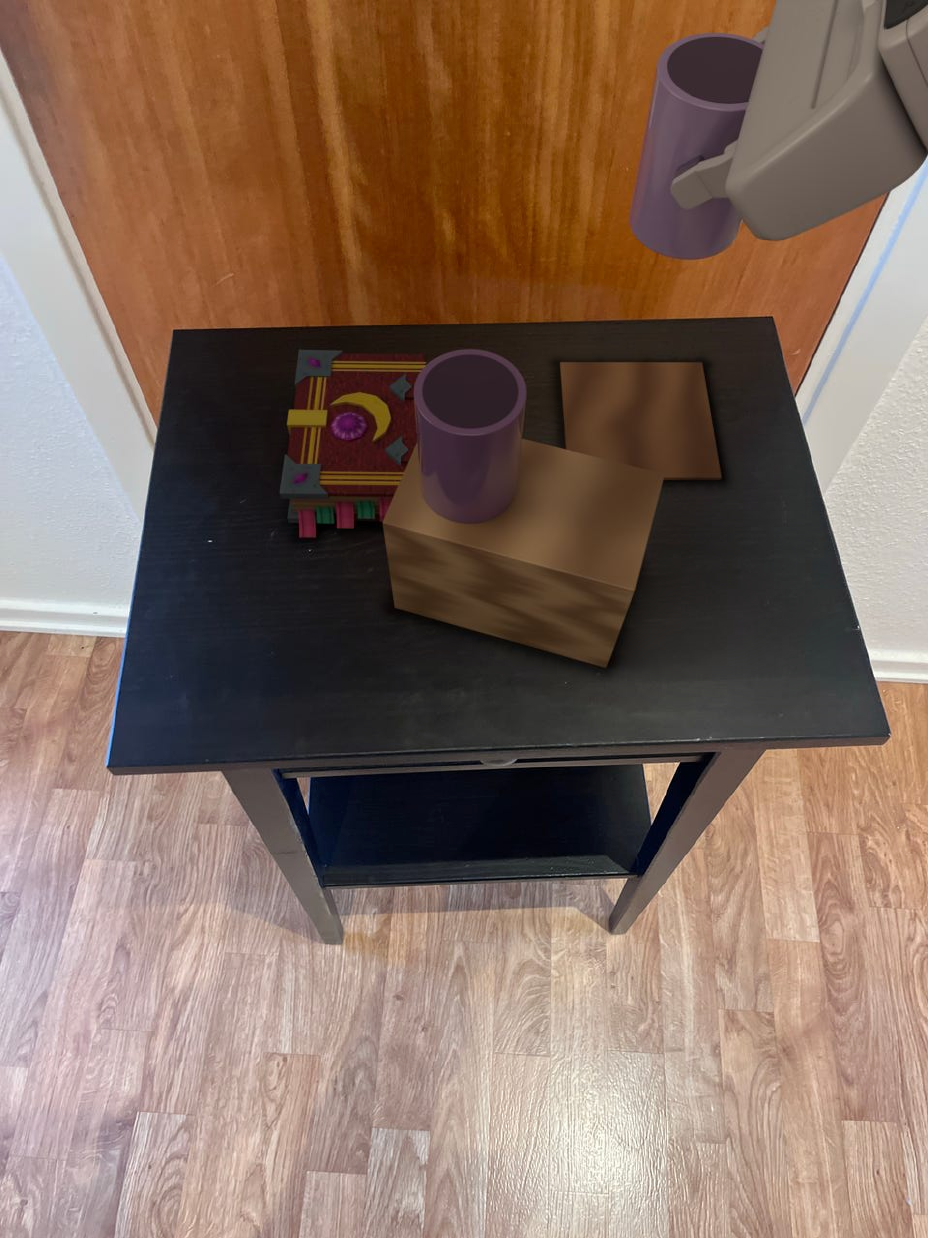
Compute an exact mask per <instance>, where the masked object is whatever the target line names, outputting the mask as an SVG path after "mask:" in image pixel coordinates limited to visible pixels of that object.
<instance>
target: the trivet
mask: <svg viewBox="0 0 928 1238" xmlns="http://www.w3.org/2000/svg"><path fill="white" fill-rule="evenodd" d="M559 372H560V373H559V374H560V387H561V400H562V401H561V402H562V415H563V428H564V443H565V444H564V445H565V449H566V450H570V451H574V452H578V453H582V454H585V455H589V456H593V457H597V458H601V459H605V460H609V461H613V462H617V463H621V464H625V465H629V466H633V467H637V468H641V469H645V470H649V471H653V472H657V473H661V474H664V475H665V476H664V480H663V481H721V480H722V471H721V466H720V464H721V463H720V460H719V454H718V448H717V441H716V436H715V430H714V423H713V419H712V418H713V417H712V413H711V407H710V401H709V395H708V389H707V383H706V378H705V371H704V365H703V362H702V361H700V362H699V361H692V362H691V361H690V362H689V361H683V362H681V361H679V362H678V361H654V362H653V361H648V362H647V361H560V362H559Z"/></svg>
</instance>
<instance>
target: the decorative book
mask: <svg viewBox="0 0 928 1238" xmlns="http://www.w3.org/2000/svg"><path fill="white" fill-rule="evenodd" d="M427 358H428V357H427V353H357V352H356V353H352V352H351V353H350V352H349V353H348V352H347V353H345V352H343V350H331V349H330V350H327V349H325V350H323V349H298V355H297V362H296V368H295V369H296V370H295V376H294V377H295V378H294V389H295V395H294V404H293V409H288V415H287V421H286V426H287V430H288V434H289V441H288V448H287V454H286V453H285V454H284V459H283V460H284V461H283V465H282V466H283V467H282V474H281V481H280V487H279V497H280V499H281V500H289V504H288V509H287V511H288V512H287V521H288V523H289V524H298V528H299V529H298V532H299V533H298V535H299V538H317V528H316V527H317V526H316V525H317V524H331V525H332V524H333V525H334V524H335V522H336V528H337V529H354V528H355V527H354V526H355V522H382V523H383V520H384V518H385V516H386V513H387V511H388V509H389V506H390V504H391V502H392V499H393V497H394V495H395V492H396V490H397V488H398V485H399V483H400V481H401V479H402V476H403V474H404V472H405V469H406V467H407V465H408V462H409V460H410V458H411V455H412V453H413V451H414V448H415V446H416V444H417V433H416V419H415V404H414V385H415V382H416V379H417V377H418V375H419V374H420V372H421V371H422V369H423V368H424V367H425V366H426V365H427V364H428V360H427Z"/></svg>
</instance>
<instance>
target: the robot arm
mask: <svg viewBox="0 0 928 1238" xmlns="http://www.w3.org/2000/svg"><path fill="white" fill-rule="evenodd" d="M751 39H752V40H755V41H757V42H759V43H761V44H763V45H764V47H763V51H762V54H761V58H760V62H759V65H758V69H757V72H756V76H755V80H754V83H753V87H752V90H751V94H750V98H749V101H748V105H747V108H746V112H745V116H744V119H743V123H742V127H741V130H740V134H739V137H738V140H736V141H734V142H733V143H731V144H730V145H728V146H727V147H726V148H725V150H724V154H723V155H720V156H717V157H714V158H711V159H708V160H705V159H704V158H703V157H702V155H701V154H700V155H699V156H697V157H695V158H694V159H692V160H690V161H689V162H688V163H687V164H683V165H681V166H680V167H678V169H677V170H676V173H675V176H674V179H673V181H672V185H671V187H670V193H671V194H672V196H673V197H674V199H675V200H676V201H677V203H678V204H679V206H680V207H681V208H682V209H684V210H692V209H694V208H696V207H697V206H699V205H701V204H703V203H705V202H707V201H708V200H710V199H712V198H714V199H716V198H729V200H730V201H731V203H732V205H733V206H734V208H735V209H736V211H737V212H738V214H739V216H740V217H741V219H742V222H743V223H744V224H745V226H746V227H747V229H748V230H749V231H750V234H752V235H753V236H754V237H755V239H758V240H761V241H769V242H770V241H773V242H779V241H784V240H788V239H791V238H793V237H796V236H799V235H801V234H804V233H805V232H808V231H810V230H813V229H815V228H818V227H820V226H822V225H825V224H828V223H829V222H831V221H833V220H836V219H837V218H840V217H842V216H844V215H846V214H848V213H850V212H853V211H855V210H857V209H859V208H861V207H863V206H865V205H867V204H869V203H871V202H873V201H875V200H878V199H879V198H881V197H883V196H885V195H887V194H888V193H890V192H891V191H893V190H895V189H896V188H898V187H899V186H901V185H903V184H904V183H905V182H907V181H908V180H909V179H910V178H912V177H913V176H914V174H915V173H917V171H919V170H920V168H921V167H922V166H923V165H924V163H925V162H926V160H927V158H928V0H776V1H775V4H774V8H773V12H772V14H771V18H770V22H769V25H767V26H765V27H764V28H762V29H761V30H759V31H758V32H757V33H756V34H755V35H754V36H753V37H752V38H751Z"/></svg>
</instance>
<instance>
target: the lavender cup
mask: <svg viewBox="0 0 928 1238" xmlns="http://www.w3.org/2000/svg"><path fill="white" fill-rule="evenodd" d="M763 47H764V45H763V44H761V43H759V42H757V41H755V40H752V38H749V37H746V36H744V35H743V36H742V35H738V34H733V33H726V32H725V33H724V32H704V33H698V34H692V35H689V36H685V37H682V38H680V39H678V40H676V41H674V42H673V43H671V44H670V45H668V46H667V47H666V48H665V49H664V50H663V51H662V53H661V54H660V56H659V58H658V60H657V63H656V69H655V74H654V78H653V79H654V80H653V85H652V90H651V96H650V101H649V107H648V112H647V116H646V122H645V127H644V133H643V139H642V144H641V149H640V154H639V159H638V166H637V170H636V176H635V180H634V187H633V193H632V198H631V203H630V209H629V212H628V213H629V214H628V223H629V226H630V229H631V232H632V233H633V235H634V237H635V238H636V239H637V240H638V242H640V243H641V244H642V245H643V246H645V247H646V248H647V249H649V250H650V251H652V252H654V253H656V254H659V255H661V256H664V257H667V258H672V259H676V260H683V261H686V260H687V261H691V260H692V261H694V260H702V259H707V258H711V257H714V256H717V255H719V254H721V253H723V252H724V251H725V250H727V249H729V248H730V247H731V246H732V244H733V243H734V242H735V241H736V239H737V237H738V235H739V232H740V228H741V226H742V223H743V220H742V219H741V217H740V216H739V214H738V212H737V211H736V209H735V208H734V206H733V205H732V203H731V201H730V200H729V198H716V199H714V198H712V199H710V200H708V201H707V202H705V203H703V204H701V205H699V206H697V207H696V208H694V209H692V210H684V209H682V208H681V207H680V206H679V204H678V203H677V201H676V200H675V199H674V197H673V196H672V194H671V193H670V187H671V185H672V181H673V179H674V176H675V173H676V170H677V169H678V167H680V166H681V165H683V164H687V163H688V162H689V161H690V160H692V159H694V158H695V157H697V156H699V155H700V154H701V155H702V157H703V158H704V159H705V160H708V159H711V158H714V157H717V156H720V155H723V154H724V150H725V148H726V147H727V146H728V145H730V144H731V143H733V142H734V141H736V140H738V137H739V134H740V130H741V127H742V123H743V119H744V116H745V112H746V108H747V105H748V101H749V98H750V94H751V90H752V87H753V83H754V80H755V76H756V72H757V69H758V65H759V62H760V58H761V54H762V51H763Z"/></svg>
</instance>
